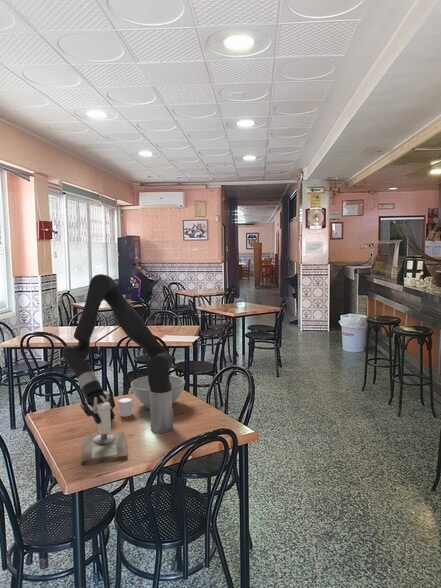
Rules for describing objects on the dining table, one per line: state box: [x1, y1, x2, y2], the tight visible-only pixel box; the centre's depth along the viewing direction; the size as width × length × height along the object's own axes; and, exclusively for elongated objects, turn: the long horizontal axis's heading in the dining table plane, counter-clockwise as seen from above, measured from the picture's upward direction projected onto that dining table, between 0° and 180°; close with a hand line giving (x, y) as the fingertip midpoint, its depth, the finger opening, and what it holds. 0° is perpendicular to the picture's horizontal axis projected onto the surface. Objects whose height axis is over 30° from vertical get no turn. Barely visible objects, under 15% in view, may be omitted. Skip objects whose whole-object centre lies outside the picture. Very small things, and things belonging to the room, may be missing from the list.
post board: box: [80, 431, 128, 466], centre depth 164 cm, size 16×22×9 cm
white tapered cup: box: [117, 397, 134, 418], centre depth 201 cm, size 7×7×7 cm
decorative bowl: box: [130, 374, 186, 410], centre depth 213 cm, size 27×27×12 cm
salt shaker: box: [96, 402, 112, 435], centre depth 169 cm, size 5×5×11 cm
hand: (106, 420), depth 168 cm, fingers closed on salt shaker, 5 cm apart
